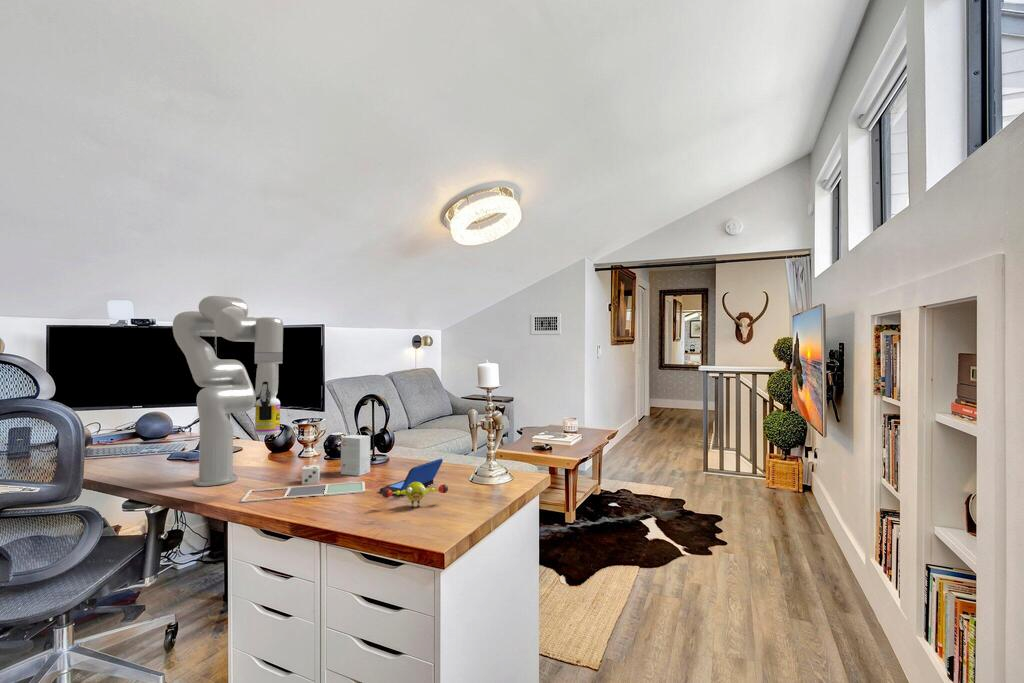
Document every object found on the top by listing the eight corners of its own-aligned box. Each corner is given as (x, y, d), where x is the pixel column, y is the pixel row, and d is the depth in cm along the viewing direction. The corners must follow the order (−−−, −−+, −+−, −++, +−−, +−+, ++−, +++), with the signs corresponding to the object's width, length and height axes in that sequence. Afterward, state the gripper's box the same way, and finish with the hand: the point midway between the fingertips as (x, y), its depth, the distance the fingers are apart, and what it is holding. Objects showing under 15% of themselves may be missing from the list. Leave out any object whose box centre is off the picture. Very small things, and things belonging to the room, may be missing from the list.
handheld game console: (412, 481, 162) (412, 453, 163) (444, 487, 156) (444, 457, 156) (377, 493, 149) (377, 462, 149) (411, 499, 142) (411, 467, 142)
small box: (370, 472, 174) (370, 435, 175) (359, 476, 168) (359, 438, 169) (351, 470, 177) (352, 434, 177) (340, 474, 171) (340, 437, 172)
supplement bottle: (278, 434, 145) (279, 391, 145) (253, 436, 142) (254, 391, 142) (280, 431, 151) (281, 389, 151) (256, 432, 148) (257, 390, 149)
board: (249, 491, 150) (249, 490, 150) (364, 482, 160) (364, 481, 160) (240, 502, 138) (240, 501, 138) (365, 492, 148) (365, 490, 149)
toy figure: (382, 512, 130) (382, 487, 130) (381, 506, 135) (381, 482, 135) (449, 506, 135) (449, 482, 135) (446, 501, 140) (446, 477, 140)
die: (303, 481, 163) (303, 465, 163) (319, 479, 164) (319, 464, 164) (301, 484, 158) (301, 469, 158) (318, 483, 159) (318, 468, 159)
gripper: (260, 358, 154) (259, 414, 154) (248, 359, 137) (247, 422, 137) (286, 358, 156) (285, 414, 156) (277, 359, 140) (276, 421, 139)
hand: (267, 417), depth 147 cm, fingers closed on supplement bottle, 6 cm apart
